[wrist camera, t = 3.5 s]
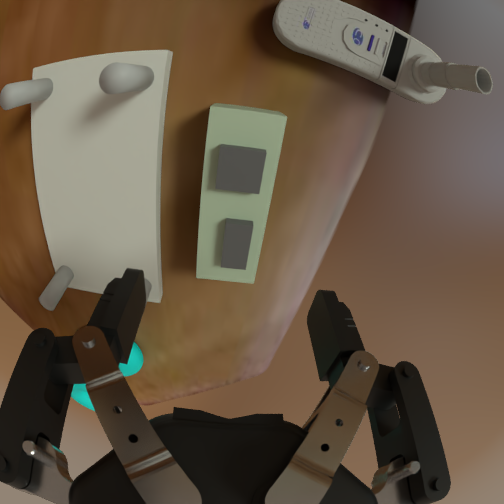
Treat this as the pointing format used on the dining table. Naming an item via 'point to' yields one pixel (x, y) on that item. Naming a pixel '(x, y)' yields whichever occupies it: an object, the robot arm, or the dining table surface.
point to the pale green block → (237, 189)
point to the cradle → (98, 166)
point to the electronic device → (372, 50)
